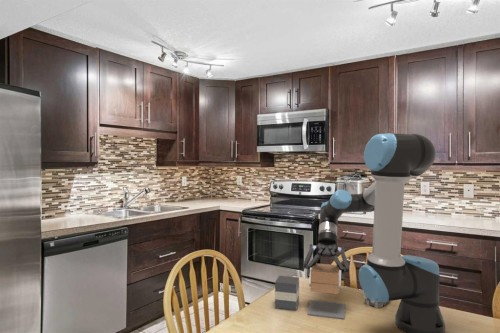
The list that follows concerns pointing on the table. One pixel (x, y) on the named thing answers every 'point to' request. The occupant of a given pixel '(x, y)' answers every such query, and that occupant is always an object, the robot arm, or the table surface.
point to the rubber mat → (327, 309)
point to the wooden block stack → (325, 278)
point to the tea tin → (287, 293)
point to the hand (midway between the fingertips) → (324, 286)
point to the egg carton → (376, 304)
